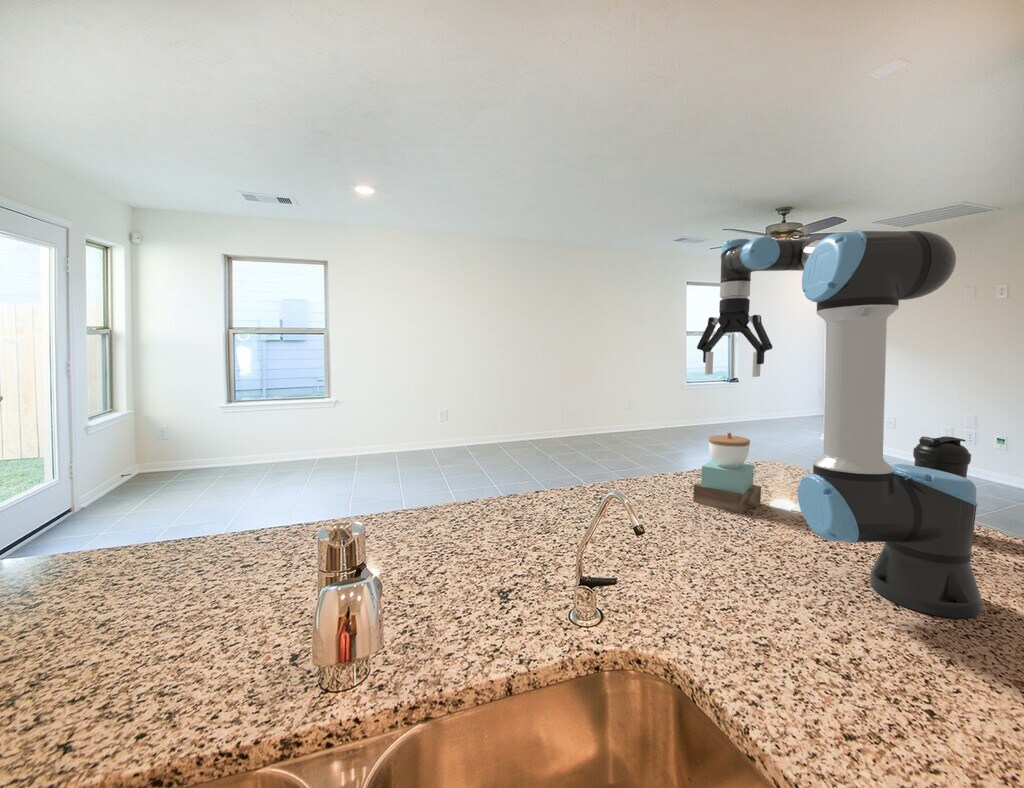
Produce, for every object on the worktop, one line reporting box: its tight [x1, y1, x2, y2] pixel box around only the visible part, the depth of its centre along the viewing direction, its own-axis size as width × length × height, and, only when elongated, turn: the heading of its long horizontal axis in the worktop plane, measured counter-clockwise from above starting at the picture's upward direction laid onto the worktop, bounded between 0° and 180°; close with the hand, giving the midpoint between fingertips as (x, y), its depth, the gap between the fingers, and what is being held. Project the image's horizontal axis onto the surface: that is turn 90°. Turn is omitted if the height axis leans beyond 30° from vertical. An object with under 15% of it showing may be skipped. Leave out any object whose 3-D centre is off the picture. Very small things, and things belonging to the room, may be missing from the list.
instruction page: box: [790, 502, 802, 514], centre depth 131 cm, size 14×10×1 cm
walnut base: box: [692, 482, 762, 515], centre depth 136 cm, size 13×13×5 cm
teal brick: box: [700, 459, 755, 494], centre depth 136 cm, size 11×11×6 cm
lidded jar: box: [708, 432, 751, 468], centre depth 135 cm, size 11×11×9 cm
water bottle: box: [912, 436, 972, 479], centre depth 114 cm, size 10×10×23 cm
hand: (731, 375), depth 133 cm, fingers open, 13 cm apart
